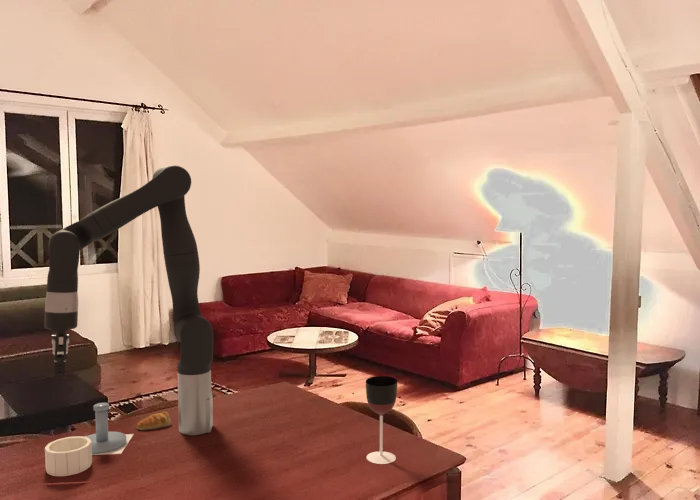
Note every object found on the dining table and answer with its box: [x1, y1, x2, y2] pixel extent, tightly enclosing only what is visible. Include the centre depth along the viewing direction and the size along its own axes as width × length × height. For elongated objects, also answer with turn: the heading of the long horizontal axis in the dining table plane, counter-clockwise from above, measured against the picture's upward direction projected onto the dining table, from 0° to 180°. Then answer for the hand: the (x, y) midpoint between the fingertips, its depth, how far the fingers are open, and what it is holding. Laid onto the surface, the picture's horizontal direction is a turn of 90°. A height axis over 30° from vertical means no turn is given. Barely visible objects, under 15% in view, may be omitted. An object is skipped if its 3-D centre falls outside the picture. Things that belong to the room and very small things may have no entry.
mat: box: [84, 433, 135, 456], centre depth 158 cm, size 13×13×1 cm
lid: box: [85, 402, 126, 454], centre depth 158 cm, size 12×12×11 cm
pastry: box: [135, 411, 172, 431], centre depth 172 cm, size 9×7×4 cm
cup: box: [44, 435, 93, 477], centre depth 145 cm, size 10×10×6 cm
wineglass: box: [365, 375, 398, 465], centre depth 150 cm, size 8×9×20 cm
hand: (59, 373), depth 150 cm, fingers open, 8 cm apart
